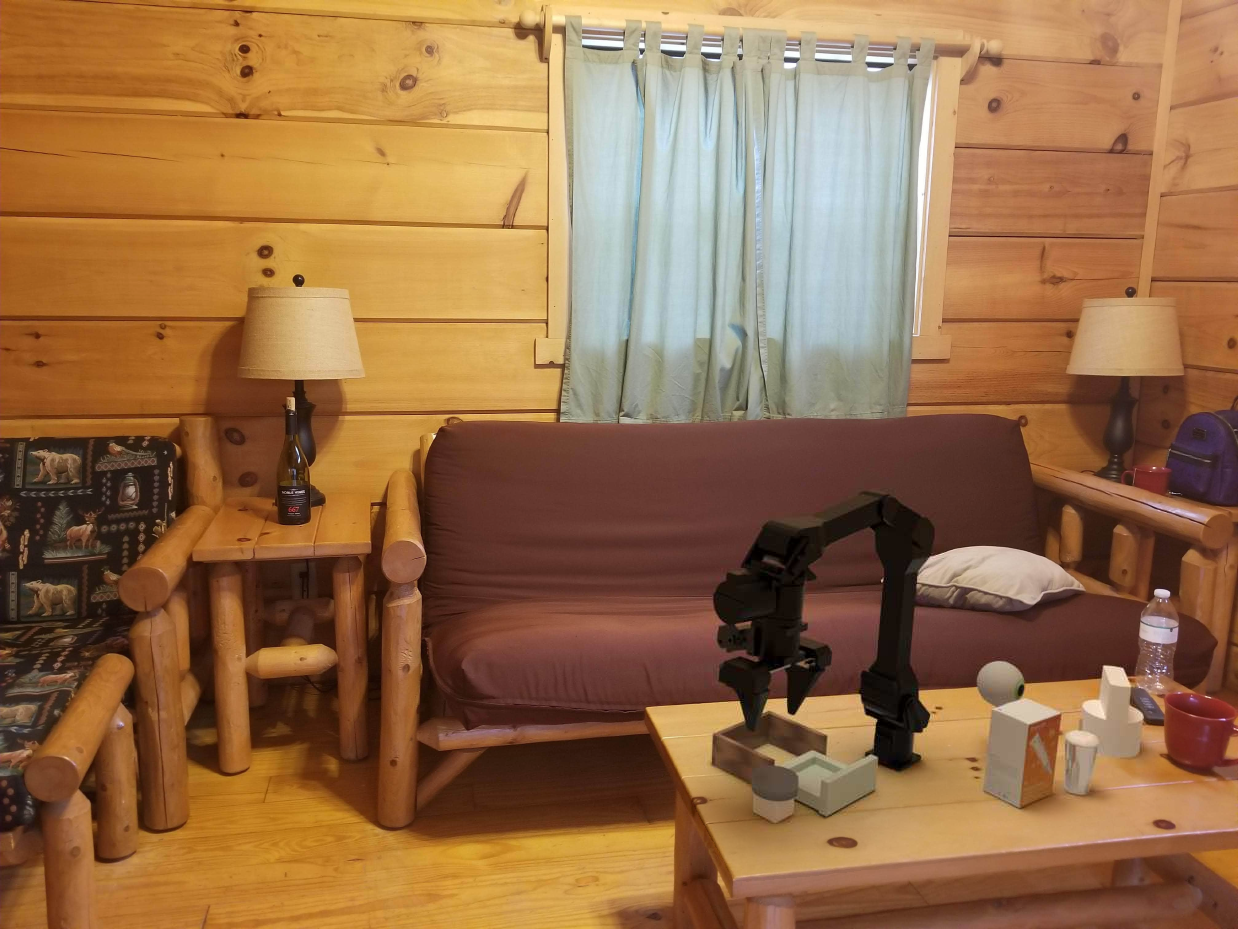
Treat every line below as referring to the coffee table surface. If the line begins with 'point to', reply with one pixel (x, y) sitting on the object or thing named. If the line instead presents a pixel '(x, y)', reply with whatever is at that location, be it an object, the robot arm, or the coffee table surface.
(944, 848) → the coffee table surface
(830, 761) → the tray
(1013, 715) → the small box
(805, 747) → the holder
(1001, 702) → the eyeball
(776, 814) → the block
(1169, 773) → the coffee table surface
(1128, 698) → the base with upright slab
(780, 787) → the cylinder
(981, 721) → the coffee table surface
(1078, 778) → the milkshake
